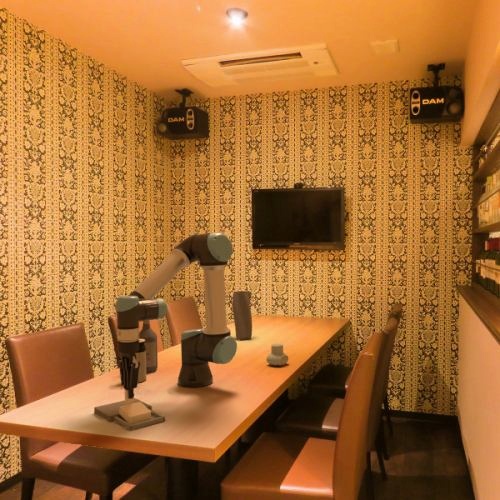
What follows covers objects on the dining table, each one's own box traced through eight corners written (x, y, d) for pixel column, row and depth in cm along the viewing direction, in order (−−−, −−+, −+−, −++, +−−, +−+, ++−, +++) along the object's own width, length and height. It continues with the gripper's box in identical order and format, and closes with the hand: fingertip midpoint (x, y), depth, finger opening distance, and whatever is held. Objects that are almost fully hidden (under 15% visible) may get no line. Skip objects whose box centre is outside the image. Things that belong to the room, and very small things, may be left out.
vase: (243, 341, 310) (242, 293, 309) (229, 339, 318) (228, 292, 318) (256, 338, 318) (255, 291, 318) (242, 336, 327) (241, 290, 327)
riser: (134, 403, 191) (134, 398, 191) (151, 411, 181) (151, 406, 181) (94, 412, 181) (94, 407, 181) (109, 422, 171) (109, 416, 171)
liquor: (155, 372, 237) (153, 309, 236) (135, 373, 237) (134, 309, 236) (158, 368, 246) (157, 307, 245) (139, 368, 246) (138, 307, 245)
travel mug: (138, 383, 218) (138, 342, 218) (124, 381, 222) (123, 341, 221) (149, 379, 225) (149, 339, 225) (135, 377, 229) (134, 338, 229)
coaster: (139, 408, 179) (140, 401, 178) (150, 418, 173) (151, 411, 172) (118, 413, 173) (119, 406, 173) (129, 424, 167) (129, 417, 167)
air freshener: (278, 368, 242) (278, 347, 242) (264, 366, 247) (264, 345, 247) (290, 363, 250) (290, 343, 250) (276, 361, 255) (276, 342, 255)
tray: (148, 412, 180) (148, 408, 180) (165, 421, 171) (165, 416, 171) (114, 421, 172) (114, 416, 172) (130, 430, 162) (130, 426, 162)
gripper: (110, 339, 179) (111, 405, 179) (126, 344, 169) (127, 414, 169) (129, 336, 184) (130, 400, 184) (146, 341, 174) (148, 409, 174)
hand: (129, 406), depth 177 cm, fingers closed
